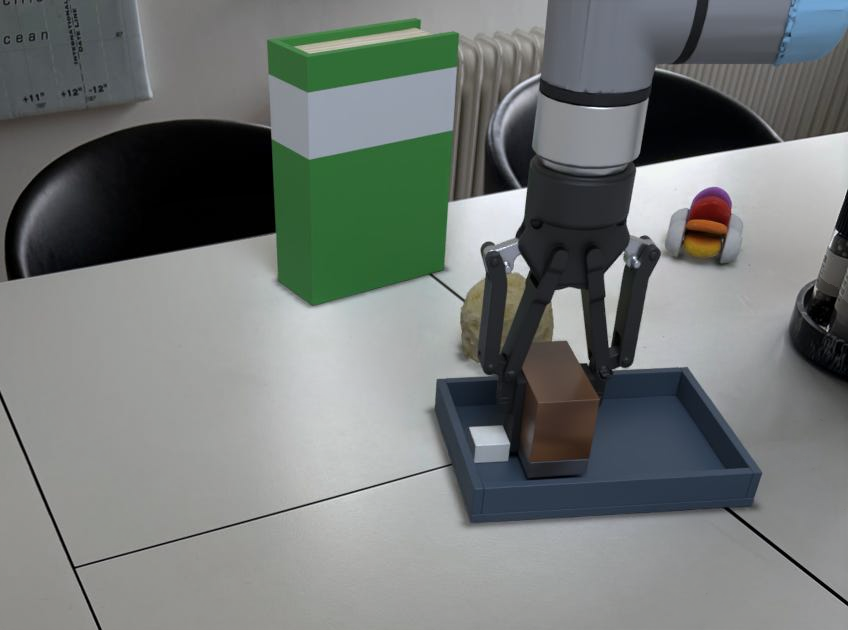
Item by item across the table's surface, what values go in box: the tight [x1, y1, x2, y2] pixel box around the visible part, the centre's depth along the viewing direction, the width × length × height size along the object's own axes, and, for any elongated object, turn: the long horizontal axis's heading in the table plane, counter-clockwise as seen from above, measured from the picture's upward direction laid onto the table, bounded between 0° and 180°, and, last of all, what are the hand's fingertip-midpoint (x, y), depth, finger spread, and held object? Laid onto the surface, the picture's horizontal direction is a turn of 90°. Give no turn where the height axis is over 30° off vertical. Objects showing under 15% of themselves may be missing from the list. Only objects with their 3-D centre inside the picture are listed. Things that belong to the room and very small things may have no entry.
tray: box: [434, 366, 763, 524], centre depth 90 cm, size 24×18×3 cm
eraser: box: [502, 340, 600, 478], centre depth 87 cm, size 5×10×7 cm, turn 7°
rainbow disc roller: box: [664, 186, 744, 264], centre depth 122 cm, size 8×10×7 cm
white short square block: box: [468, 425, 510, 463], centre depth 89 cm, size 3×3×2 cm
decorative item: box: [459, 271, 555, 364], centre depth 102 cm, size 10×10×10 cm
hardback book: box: [266, 17, 460, 307], centre depth 110 cm, size 18×7×24 cm, turn 124°
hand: (543, 440), depth 89 cm, fingers closed on eraser, 5 cm apart
